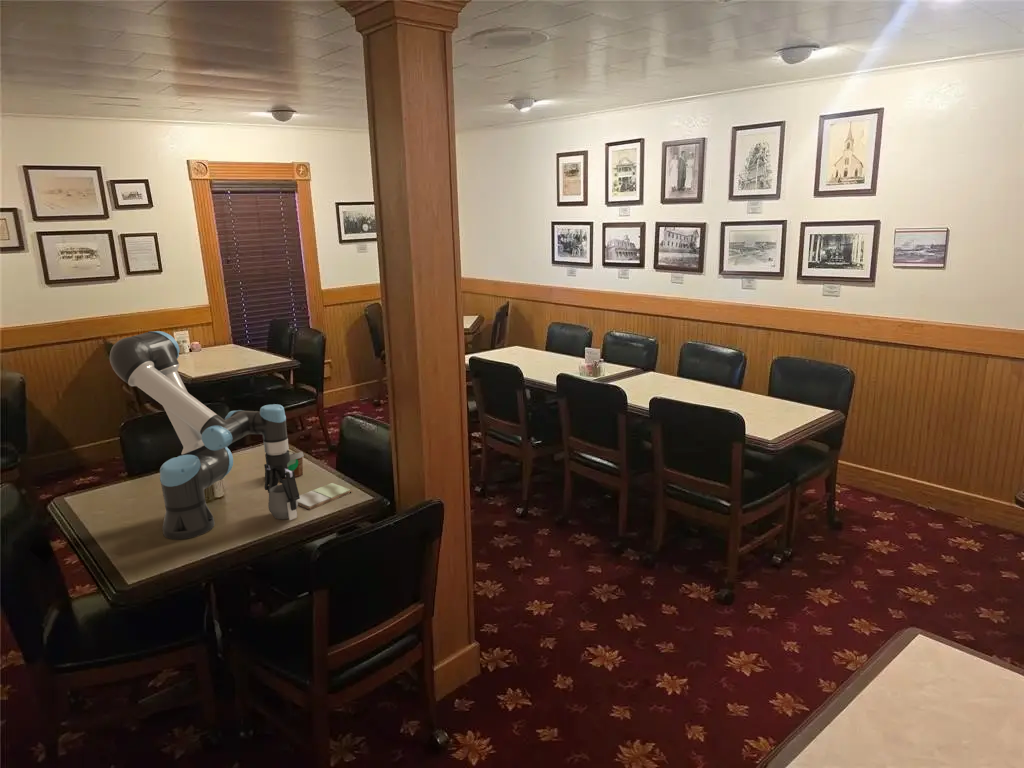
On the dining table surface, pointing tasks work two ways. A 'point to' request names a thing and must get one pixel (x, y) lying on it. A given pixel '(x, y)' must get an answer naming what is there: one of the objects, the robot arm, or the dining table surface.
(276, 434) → the robot arm
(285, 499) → the cup
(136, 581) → the dining table surface
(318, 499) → the green and white board
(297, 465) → the food container
